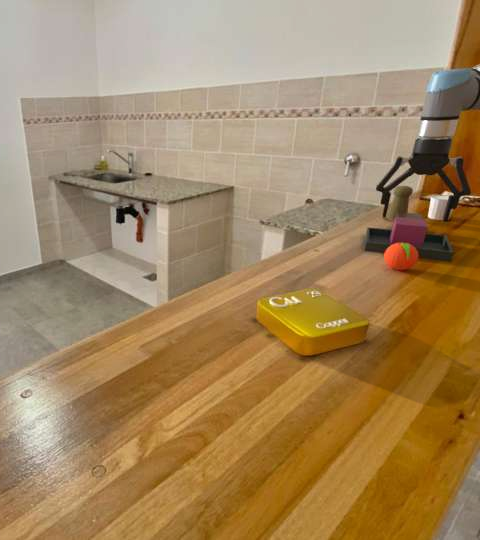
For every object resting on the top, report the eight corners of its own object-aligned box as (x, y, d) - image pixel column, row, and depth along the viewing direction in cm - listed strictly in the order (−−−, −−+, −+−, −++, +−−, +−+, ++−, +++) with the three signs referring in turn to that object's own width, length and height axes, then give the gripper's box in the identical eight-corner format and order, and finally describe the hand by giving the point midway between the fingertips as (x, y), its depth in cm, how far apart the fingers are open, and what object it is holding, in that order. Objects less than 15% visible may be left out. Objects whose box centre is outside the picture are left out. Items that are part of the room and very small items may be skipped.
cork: (385, 214, 136) (393, 184, 132) (406, 216, 133) (414, 185, 129) (386, 219, 132) (393, 187, 127) (407, 221, 129) (416, 188, 124)
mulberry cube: (420, 251, 104) (427, 226, 101) (390, 247, 108) (396, 223, 105) (418, 242, 110) (425, 219, 107) (389, 239, 113) (395, 216, 110)
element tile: (302, 359, 67) (306, 336, 65) (251, 317, 80) (253, 297, 78) (370, 341, 70) (376, 319, 68) (311, 303, 83) (314, 284, 81)
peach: (420, 277, 92) (428, 250, 89) (386, 275, 94) (393, 248, 91) (409, 264, 98) (416, 238, 96) (378, 262, 101) (384, 237, 98)
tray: (443, 243, 110) (446, 235, 109) (450, 261, 99) (453, 252, 98) (365, 235, 119) (367, 227, 118) (364, 250, 108) (366, 242, 107)
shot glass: (431, 220, 128) (437, 200, 125) (421, 214, 134) (427, 195, 131) (455, 220, 126) (462, 200, 124) (444, 214, 132) (450, 195, 130)
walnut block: (416, 229, 121) (420, 213, 119) (417, 234, 117) (422, 219, 115) (393, 226, 124) (397, 212, 122) (394, 232, 120) (398, 217, 118)
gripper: (496, 134, 93) (470, 218, 102) (376, 136, 106) (361, 210, 114) (504, 138, 87) (475, 226, 96) (375, 139, 100) (360, 217, 109)
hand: (413, 218), depth 105 cm, fingers open, 13 cm apart
